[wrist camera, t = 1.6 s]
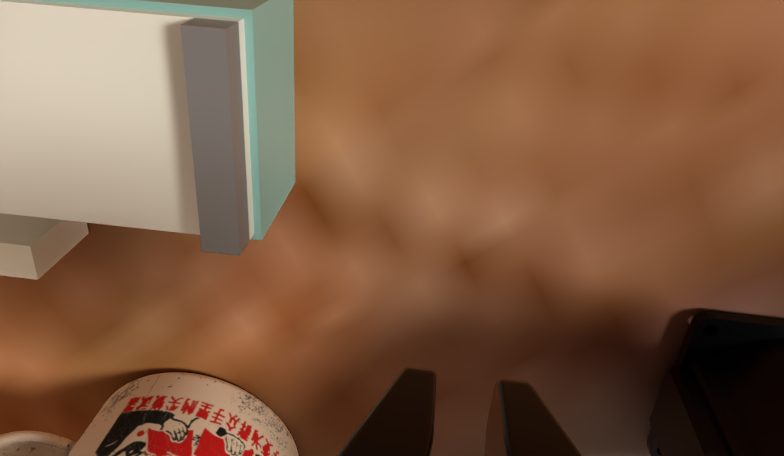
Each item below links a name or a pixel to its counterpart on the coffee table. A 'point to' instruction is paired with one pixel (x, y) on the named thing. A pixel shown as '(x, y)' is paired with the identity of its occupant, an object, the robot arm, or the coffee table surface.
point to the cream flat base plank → (35, 243)
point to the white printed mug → (168, 423)
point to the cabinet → (149, 114)
